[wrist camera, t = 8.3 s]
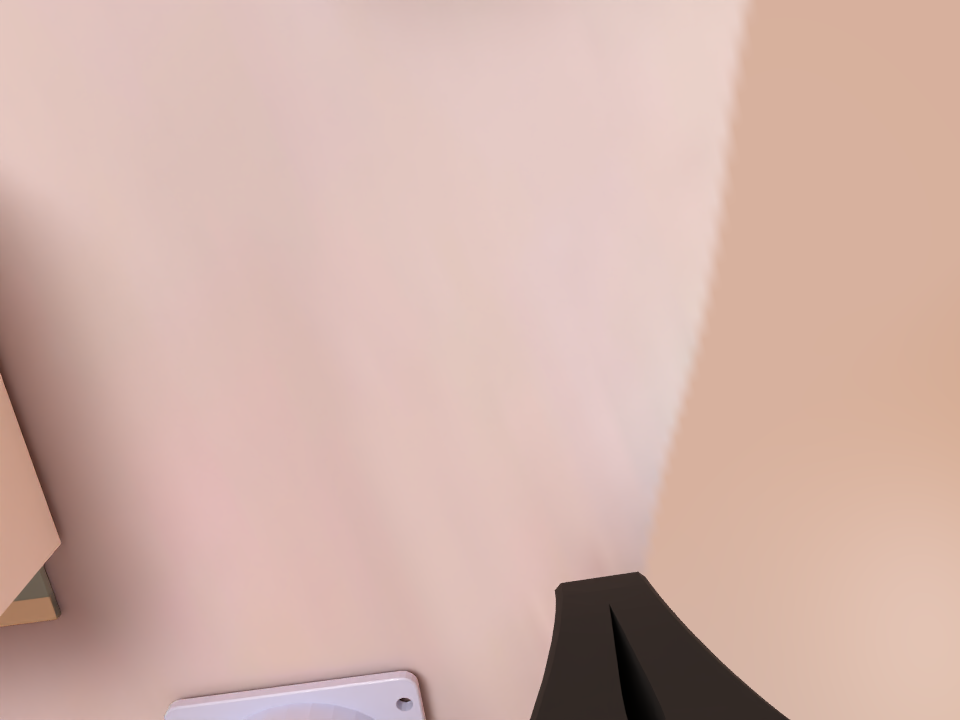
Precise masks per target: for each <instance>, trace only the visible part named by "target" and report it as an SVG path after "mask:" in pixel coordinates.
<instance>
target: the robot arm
mask: <svg viewBox="0 0 960 720" xmlns="http://www.w3.org/2000/svg"><path fill="white" fill-rule="evenodd" d="M555 595H556V613H555V623H554V630H553V636H552V642H551V647H550V651H549V655H548V660H547V664H546V669H545V673H544V677H543V680H542V684H541V687H540V690H539V693H538V696H537V700H536V703H535V706H534V709H533V712H532V715H531V718H530V720H789V719H788V718H787V717H785V716H784V715H783V714H781V713H780V712H779V711H778V710H776V709H775V708H774V707H773V706H771V705H770V704H769V703H768V702H766V701H765V700H764V699H763V698H761V697H760V696H759V695H758V694H757V693H756V692H754V691H753V690H752V689H751V688H750V687H749V686H747V685H746V684H745V683H744V682H743V681H742V680H741V679H740V678H739V677H737V676H736V675H735V674H734V673H733V672H732V671H731V670H730V669H728V667H726V666H725V665H724V664H723V663H722V662H721V661H720V660H719V659H718V658H717V657H716V656H715V655H714V654H713V653H712V652H711V651H710V650H709V649H708V648H707V647H706V646H705V645H704V644H703V643H702V642H701V641H700V640H699V639H698V638H697V637H696V636H695V635H694V634H693V633H692V632H691V631H690V630H689V629H688V628H687V626H685V624H684V623H683V622H682V621H681V620H680V619H679V618H678V617H677V615H676V614H675V613H674V612H673V611H672V610H671V609H670V608H669V606H668V605H667V604H666V603H665V602H664V600H663V599H662V598H661V597H660V596H659V594H658V593H657V592H656V591H655V589H654V588H653V587H652V585H651V584H650V583H649V581H648V580H647V579H646V577H645V576H643V575H642V574H640V573H639V572H633V573H627V574H620V575H613V576H606V577H600V578H593V579H586V580H579V581H572V582H566V583H561V584H560V585H559V586H558V587H557V589H556V590H555ZM401 698H408V699H410V700H411V701H408V702H402V701H400V700H399V699H401ZM164 720H426V717H425V712H424V707H423V702H422V697H421V692H420V687H419V682H418V680H417V678H416V676H415V675H413V674H412V673H410V672H407V671H395V672H387V673H380V674H372V675H365V676H357V677H349V678H342V679H334V680H326V681H319V682H311V683H303V684H296V685H288V686H281V687H273V688H265V689H258V690H250V691H242V692H235V693H227V694H219V695H212V696H204V697H197V698H189V699H181V700H177V701H174V702H172V703H171V704H170V705H169V707H168V709H167V711H166V714H165V716H164Z"/></svg>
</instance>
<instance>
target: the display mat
mask: <svg viewBox="0 0 960 720" xmlns="http://www.w3.org/2000/svg"><path fill="white" fill-rule="evenodd" d="M60 615H61V612H60V609H59V607H58V604H57V601H56V599H55V596H54V593H53V590H52V588H51V585H50V582H49V580H48V577H47V574H46V572H45V569H44V566H42V567H41V568H40V569H39V571H38V572H37V573H36V574H35V575H34V577H33V578H32V579H31V580H30V581H29V583H28V584H27V585H26V586H25V587H24V589H23V590H22V591H21V592H20V593H19V595H18V596H17V597H16V598H15V599H14V601H13V602H12V603H11V604H10V605H9V607H8V608H7V609H6V610H5V611H4V613H3V614H2V615H1V616H0V627H3V626H11V625H18V624H26V623H33V622H41V621H48V620H56V619H58V618H59V616H60Z"/></svg>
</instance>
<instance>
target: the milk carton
mask: <svg viewBox="0 0 960 720" xmlns="http://www.w3.org/2000/svg"><path fill="white" fill-rule="evenodd" d="M60 544H61V541H60V539H59V536H58V533H57V530H56V528H55V525H54V522H53V519H52V516H51V514H50V511H49V508H48V505H47V502H46V500H45V497H44V494H43V491H42V488H41V486H40V483H39V480H38V477H37V475H36V472H35V469H34V466H33V463H32V461H31V458H30V455H29V452H28V449H27V447H26V444H25V441H24V438H23V435H22V433H21V430H20V427H19V424H18V422H17V419H16V416H15V413H14V410H13V408H12V405H11V402H10V399H9V396H8V394H7V391H6V388H5V385H4V382H3V380H2V377H1V374H0V616H1V615H2V614H3V613H4V611H5V610H6V609H7V608H8V607H9V605H10V604H11V603H12V602H13V601H14V599H15V598H16V597H17V596H18V595H19V593H20V592H21V591H22V590H23V589H24V587H25V586H26V585H27V584H28V583H29V581H30V580H31V579H32V578H33V577H34V575H35V574H36V573H37V572H38V571H39V569H40V568H41V567H42V566H43V565H44V563H45V562H46V561H47V560H48V559H49V557H50V556H51V555H52V554H53V553H54V551H55V550H56V549H57V548H58V547H59V545H60Z"/></svg>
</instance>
